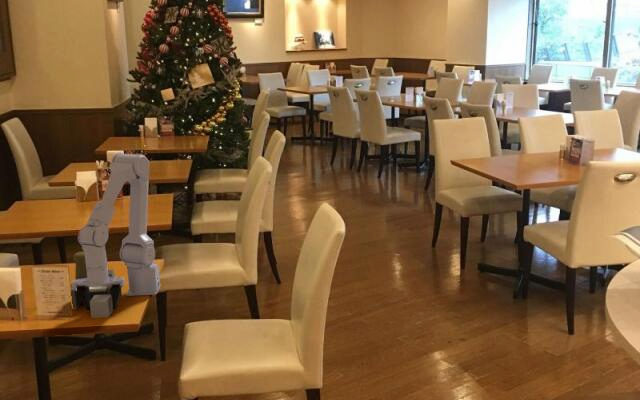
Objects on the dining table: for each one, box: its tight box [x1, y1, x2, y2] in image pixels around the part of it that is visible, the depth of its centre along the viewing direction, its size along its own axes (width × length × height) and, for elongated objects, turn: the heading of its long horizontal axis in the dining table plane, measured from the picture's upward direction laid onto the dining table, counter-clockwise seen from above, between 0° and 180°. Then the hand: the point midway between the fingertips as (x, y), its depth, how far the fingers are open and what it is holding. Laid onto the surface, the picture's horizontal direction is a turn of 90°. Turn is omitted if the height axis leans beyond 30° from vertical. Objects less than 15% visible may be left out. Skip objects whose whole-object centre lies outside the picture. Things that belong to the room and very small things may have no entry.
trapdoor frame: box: [70, 276, 123, 310], centre depth 201 cm, size 13×9×6 cm
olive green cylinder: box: [72, 251, 87, 280], centre depth 214 cm, size 6×6×11 cm
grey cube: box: [90, 294, 114, 319], centre depth 193 cm, size 5×5×5 cm
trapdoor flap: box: [75, 269, 116, 292], centre depth 202 cm, size 9×12×4 cm
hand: (102, 309), depth 193 cm, fingers open, 7 cm apart
